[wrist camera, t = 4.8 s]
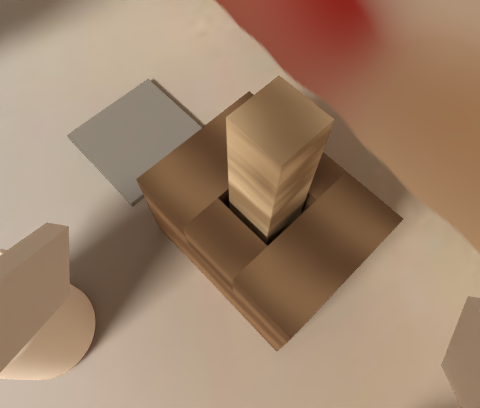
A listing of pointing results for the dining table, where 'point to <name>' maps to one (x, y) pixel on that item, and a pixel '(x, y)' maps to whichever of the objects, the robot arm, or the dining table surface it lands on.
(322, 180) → the brown square frame
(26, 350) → the tan half-round slab
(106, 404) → the dining table surface
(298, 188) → the wooden block
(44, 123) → the dining table surface
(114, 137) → the mat
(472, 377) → the robot arm
